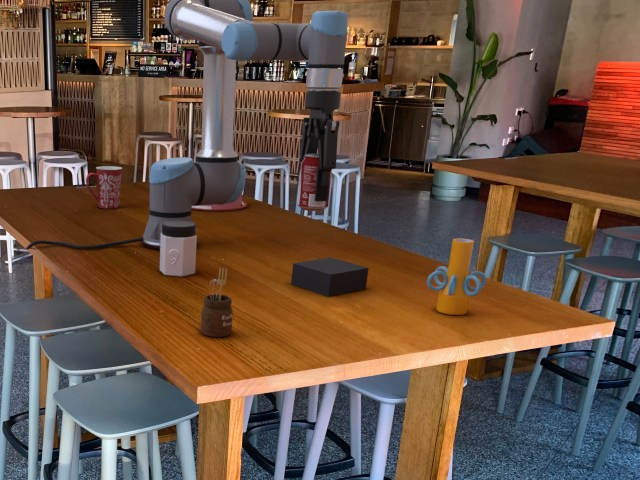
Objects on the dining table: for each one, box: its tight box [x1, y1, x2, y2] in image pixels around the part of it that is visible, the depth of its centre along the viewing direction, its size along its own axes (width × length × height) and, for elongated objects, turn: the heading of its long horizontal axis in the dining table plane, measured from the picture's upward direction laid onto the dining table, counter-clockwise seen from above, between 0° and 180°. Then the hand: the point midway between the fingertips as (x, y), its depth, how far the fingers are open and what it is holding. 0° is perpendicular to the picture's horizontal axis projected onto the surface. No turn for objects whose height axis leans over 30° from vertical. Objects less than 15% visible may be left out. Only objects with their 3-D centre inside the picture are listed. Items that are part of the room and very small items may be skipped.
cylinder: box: [426, 237, 487, 316], centre depth 163 cm, size 12×10×15 cm
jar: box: [159, 220, 198, 278], centre depth 192 cm, size 9×8×12 cm
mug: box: [85, 165, 123, 210], centre depth 275 cm, size 13×9×14 cm
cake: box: [192, 193, 248, 212], centre depth 282 cm, size 25×25×11 cm
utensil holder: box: [200, 267, 234, 338], centre depth 149 cm, size 6×6×12 cm
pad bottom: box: [290, 273, 368, 297], centre depth 183 cm, size 12×12×2 cm
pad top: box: [291, 256, 369, 285], centre depth 182 cm, size 12×12×2 cm
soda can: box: [297, 153, 333, 212], centre depth 178 cm, size 7×7×12 cm
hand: (313, 198), depth 179 cm, fingers closed on soda can, 7 cm apart
